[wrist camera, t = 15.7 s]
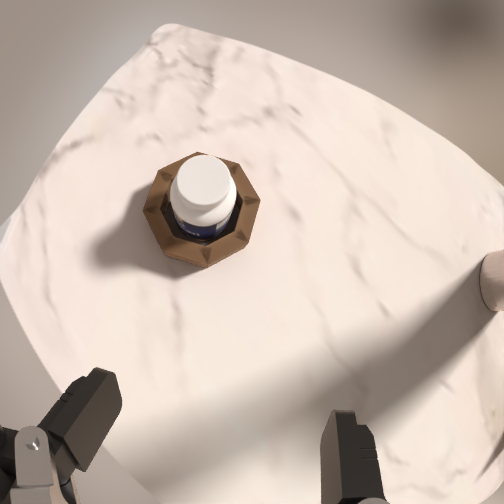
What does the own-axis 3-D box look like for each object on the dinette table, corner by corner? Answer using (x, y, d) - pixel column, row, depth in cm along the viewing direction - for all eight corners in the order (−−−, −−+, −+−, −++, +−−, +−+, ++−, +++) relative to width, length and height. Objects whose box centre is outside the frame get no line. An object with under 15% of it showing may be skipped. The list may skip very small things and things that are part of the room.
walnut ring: (222, 153, 32) (224, 140, 29) (269, 234, 32) (276, 227, 29) (136, 194, 30) (130, 184, 27) (180, 282, 29) (177, 280, 27)
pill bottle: (165, 222, 30) (150, 187, 21) (196, 181, 31) (195, 133, 22) (209, 252, 30) (213, 229, 21) (239, 209, 32) (255, 170, 22)
